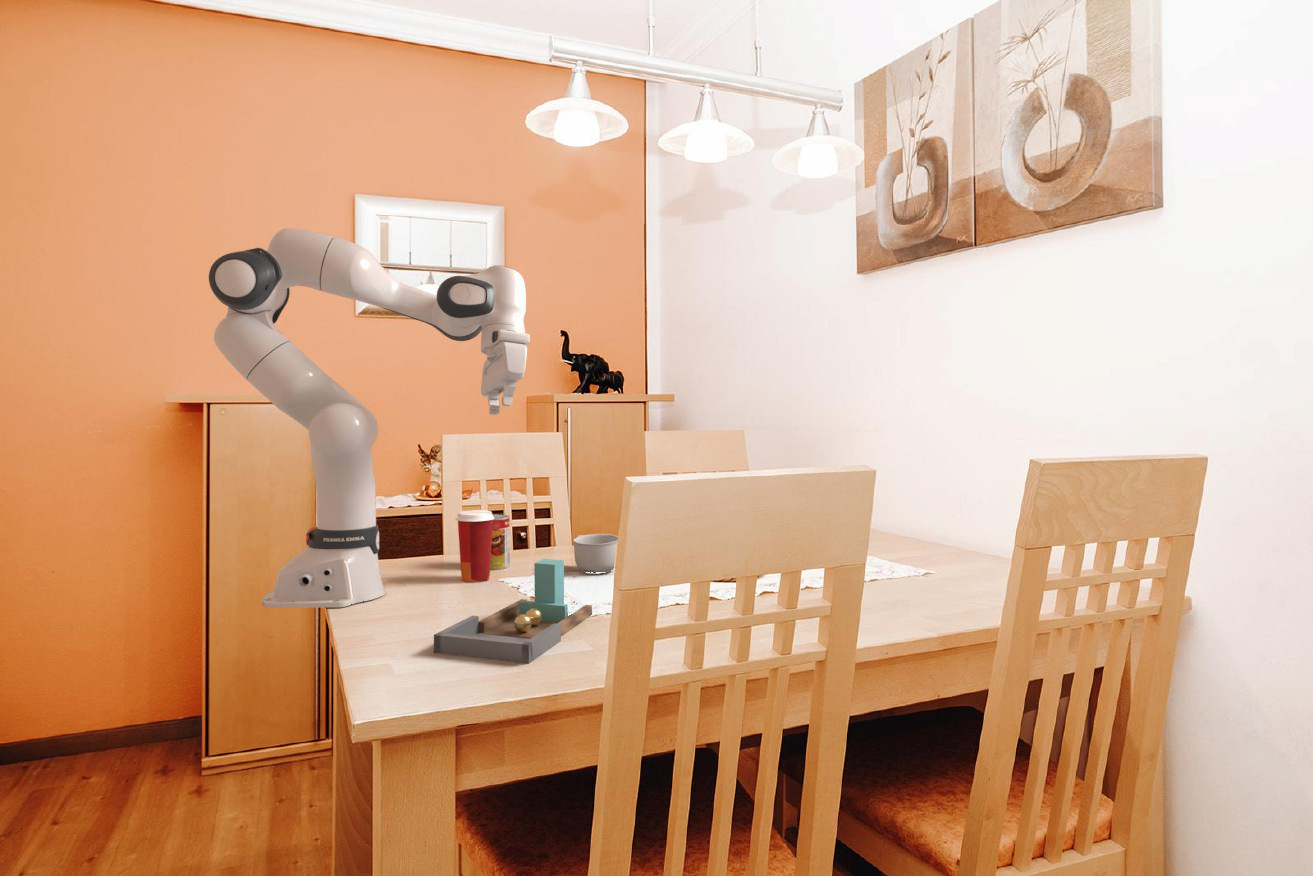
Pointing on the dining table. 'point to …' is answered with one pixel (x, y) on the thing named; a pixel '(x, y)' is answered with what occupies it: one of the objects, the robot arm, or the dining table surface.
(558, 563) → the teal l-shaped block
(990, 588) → the dining table surface
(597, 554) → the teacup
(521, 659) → the tray
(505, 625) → the channel
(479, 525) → the coffee cup
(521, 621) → the ball
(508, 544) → the canned food
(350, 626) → the dining table surface
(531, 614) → the ball
